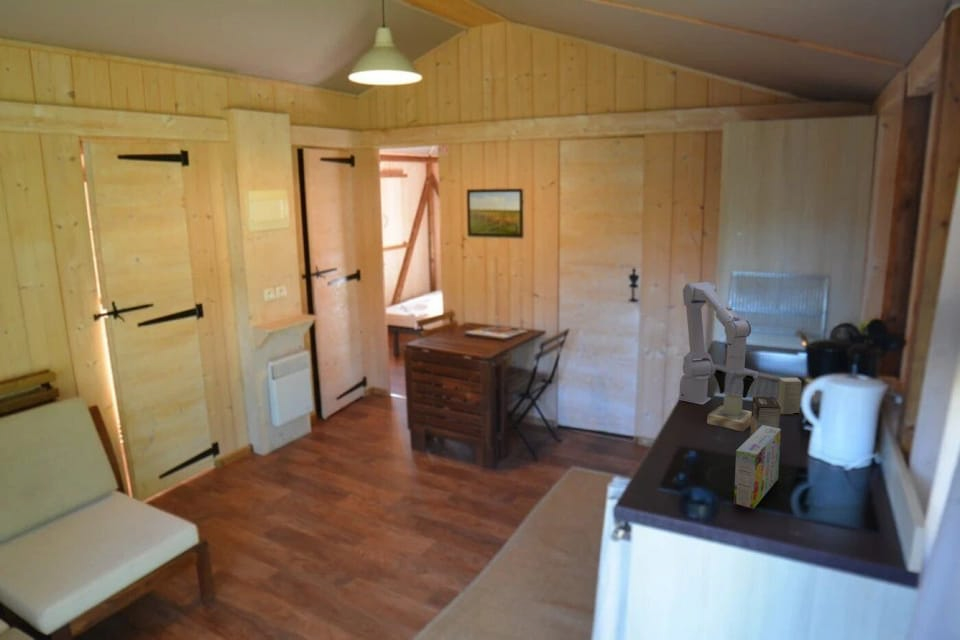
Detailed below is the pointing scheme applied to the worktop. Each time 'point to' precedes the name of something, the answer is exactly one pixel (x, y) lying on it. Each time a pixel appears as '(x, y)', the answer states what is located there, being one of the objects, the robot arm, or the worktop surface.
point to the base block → (730, 419)
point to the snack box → (757, 466)
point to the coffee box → (764, 413)
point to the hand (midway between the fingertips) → (733, 394)
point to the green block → (732, 404)
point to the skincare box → (789, 395)
